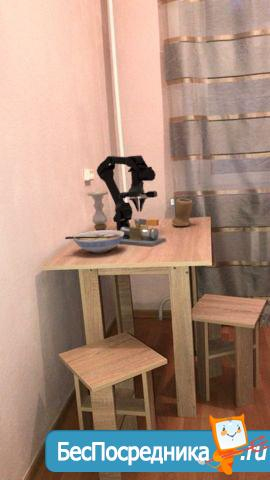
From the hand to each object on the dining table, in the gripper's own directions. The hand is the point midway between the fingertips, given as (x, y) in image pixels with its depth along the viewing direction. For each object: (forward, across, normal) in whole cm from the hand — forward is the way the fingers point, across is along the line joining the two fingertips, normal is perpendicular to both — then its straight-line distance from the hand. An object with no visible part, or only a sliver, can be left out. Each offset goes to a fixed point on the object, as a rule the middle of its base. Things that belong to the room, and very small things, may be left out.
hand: (139, 211), depth 217 cm
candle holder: (+12, -16, -14) cm, 25 cm away
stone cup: (+12, +16, +26) cm, 33 cm away
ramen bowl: (+12, -7, -36) cm, 39 cm away
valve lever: (+4, +10, -19) cm, 21 cm away
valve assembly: (+12, +5, -18) cm, 22 cm away
